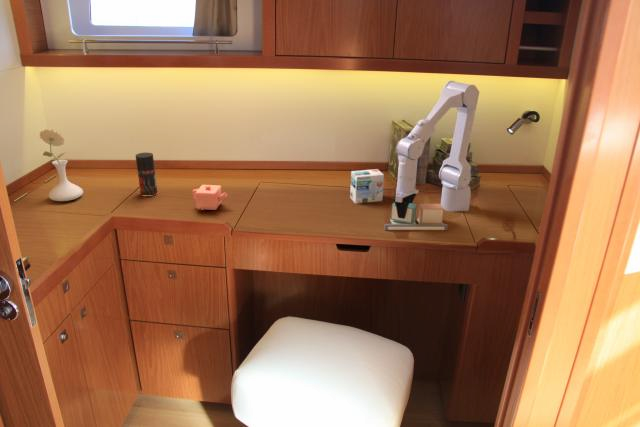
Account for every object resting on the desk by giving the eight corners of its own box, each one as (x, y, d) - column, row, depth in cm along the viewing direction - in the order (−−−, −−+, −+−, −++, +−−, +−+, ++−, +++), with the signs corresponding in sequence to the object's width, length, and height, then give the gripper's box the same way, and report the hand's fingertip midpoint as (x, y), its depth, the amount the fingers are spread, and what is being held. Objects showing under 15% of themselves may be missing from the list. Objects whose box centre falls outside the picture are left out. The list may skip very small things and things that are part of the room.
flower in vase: (91, 195, 189) (79, 128, 179) (65, 206, 179) (51, 136, 169) (65, 189, 194) (52, 124, 184) (38, 200, 184) (23, 131, 174)
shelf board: (434, 210, 180) (435, 204, 179) (447, 232, 165) (447, 225, 164) (377, 210, 180) (378, 204, 179) (384, 232, 164) (385, 225, 163)
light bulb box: (355, 205, 184) (356, 176, 180) (349, 198, 190) (350, 170, 186) (383, 202, 187) (385, 174, 182) (376, 195, 193) (378, 168, 188)
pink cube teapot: (225, 213, 176) (223, 190, 173) (191, 211, 177) (188, 189, 174) (230, 204, 183) (229, 182, 180) (197, 202, 184) (196, 181, 181)
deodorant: (158, 195, 190) (153, 156, 184) (141, 197, 188) (136, 158, 182) (156, 190, 195) (152, 151, 189) (140, 192, 193) (135, 153, 187)
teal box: (415, 219, 170) (416, 204, 168) (411, 224, 167) (412, 208, 164) (394, 215, 173) (396, 200, 171) (390, 220, 169) (392, 204, 167)
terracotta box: (439, 219, 172) (441, 203, 170) (442, 224, 168) (444, 208, 166) (418, 219, 172) (419, 203, 170) (420, 224, 168) (422, 208, 166)
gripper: (412, 185, 156) (408, 225, 161) (425, 171, 168) (421, 209, 173) (390, 181, 159) (387, 221, 164) (404, 168, 171) (401, 205, 176)
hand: (403, 215), depth 169 cm, fingers closed on teal box, 4 cm apart
